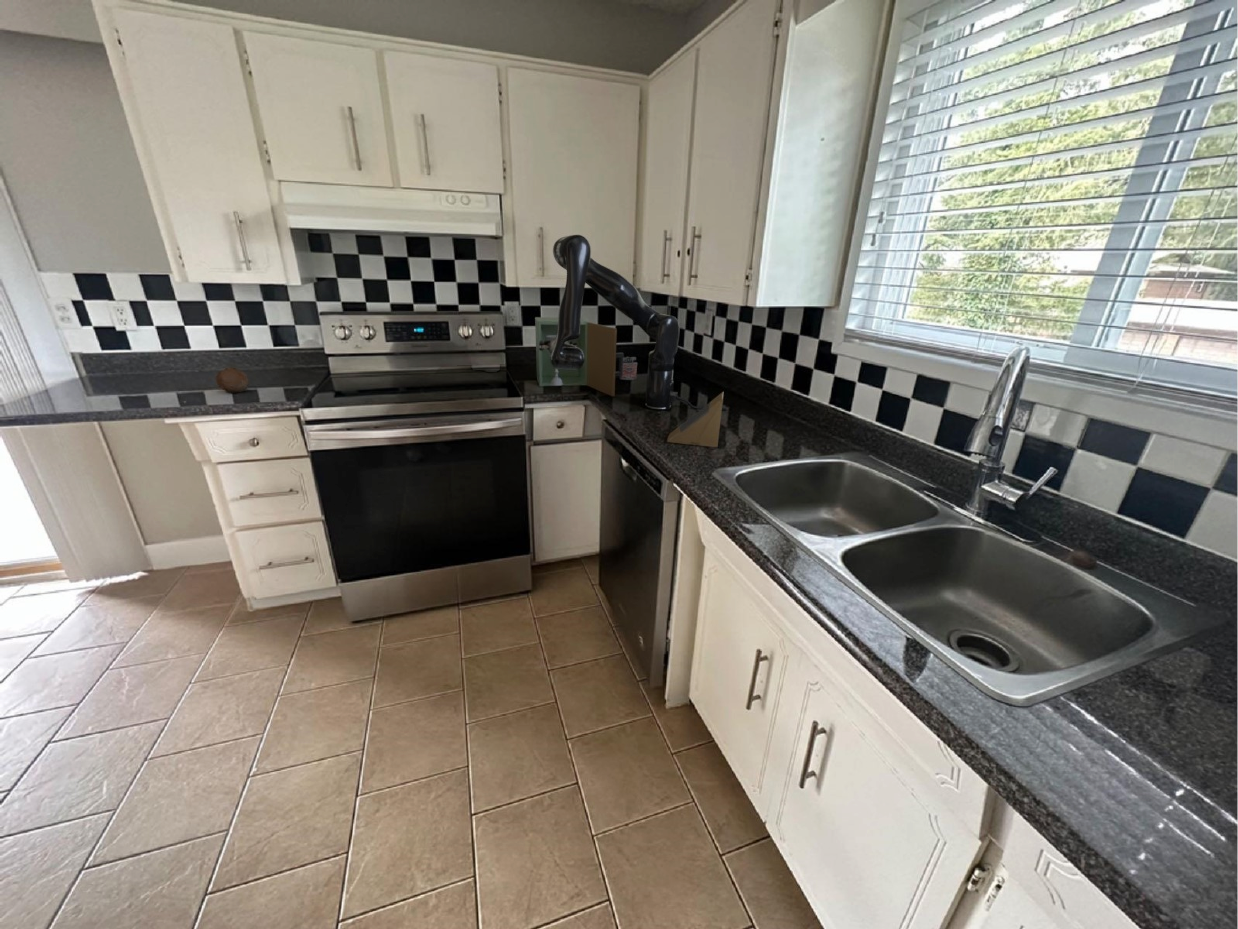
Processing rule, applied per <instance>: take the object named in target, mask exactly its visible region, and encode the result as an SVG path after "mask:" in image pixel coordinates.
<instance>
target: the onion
mask: <svg viewBox="0 0 1238 929" xmlns="http://www.w3.org/2000/svg"><path fill="white" fill-rule="evenodd" d="M215 382H216V384H217V386H218V387H219V388H220V389H221V390H223V391H224V392H226V393H230V394H238V393H243V392H244V391H246V390H247V389H248V386H249V378H248V376H247V374H246V373H245V372H243V371H241V370H239V369H238V368H235V367H233V366H229V367H227V368H225V369H222V370H221V371H219V372H218V373H217V374H216V376H215Z"/></svg>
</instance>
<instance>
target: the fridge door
mask: <svg viewBox="0 0 1238 929" xmlns="http://www.w3.org/2000/svg"><path fill="white" fill-rule="evenodd" d="M617 329H618V328H616V327H610V326H607V325H603V324H599V323H594V322H590V321H588V331H587V385H586V387H589V388H592V389H594V390H596V391H598V392H601V393H603V394H606V395H608V396H610V397H615V395H616V392H615V391H616V377H618V378H619V377H620V376H623V358H624V352H617V337H618V336H617V334H618V330H617ZM617 359H618V371H616V368H617V367H616V365H617Z"/></svg>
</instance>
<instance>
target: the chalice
mask: <svg viewBox="0 0 1238 929" xmlns="http://www.w3.org/2000/svg"><path fill="white" fill-rule="evenodd" d="M556 337H557V335H549V336H546V338H547V340H553V339H554V338H556ZM548 352H549V350H548ZM549 355H550V357H551V354H550V352H549ZM554 372H555V377H554V378H553V379H552V381H551V383H550V385H553V386H552V387H559V386H560V385H563V383H562V381H561V379H560V378H558V372H559V371H558V369H556V368H555V371H554ZM560 387H561V386H560Z"/></svg>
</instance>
